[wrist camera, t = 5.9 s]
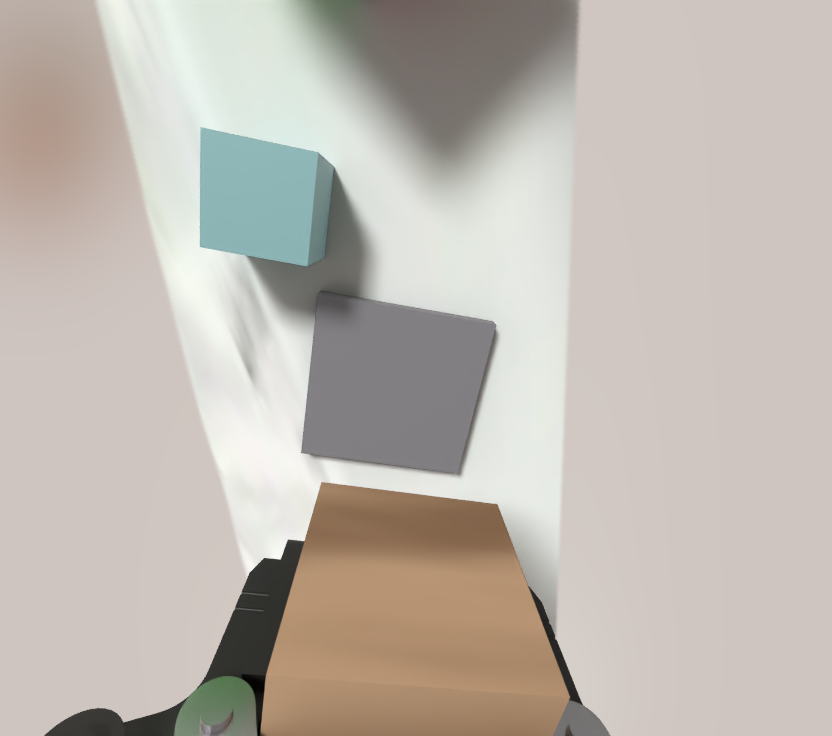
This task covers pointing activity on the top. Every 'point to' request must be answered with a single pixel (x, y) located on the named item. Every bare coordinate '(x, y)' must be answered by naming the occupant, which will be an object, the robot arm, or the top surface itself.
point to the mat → (393, 382)
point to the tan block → (410, 625)
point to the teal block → (263, 198)
